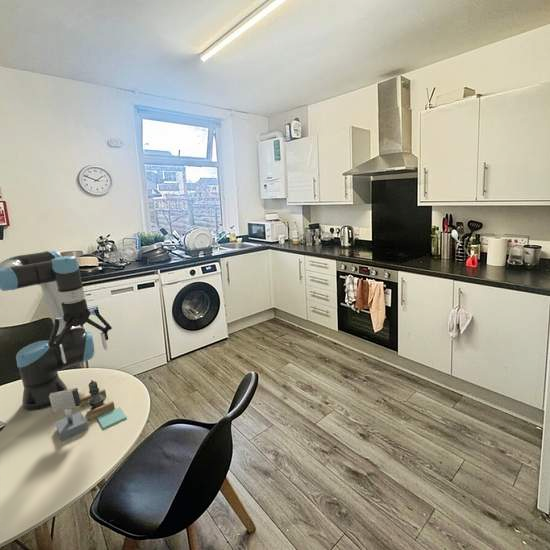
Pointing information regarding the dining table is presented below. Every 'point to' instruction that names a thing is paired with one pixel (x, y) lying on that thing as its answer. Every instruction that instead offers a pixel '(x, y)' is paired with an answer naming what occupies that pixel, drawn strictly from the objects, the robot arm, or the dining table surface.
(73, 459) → the dining table surface
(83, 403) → the block
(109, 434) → the dining table surface
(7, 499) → the dining table surface
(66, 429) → the block
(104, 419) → the coaster
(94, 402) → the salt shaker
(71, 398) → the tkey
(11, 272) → the robot arm
